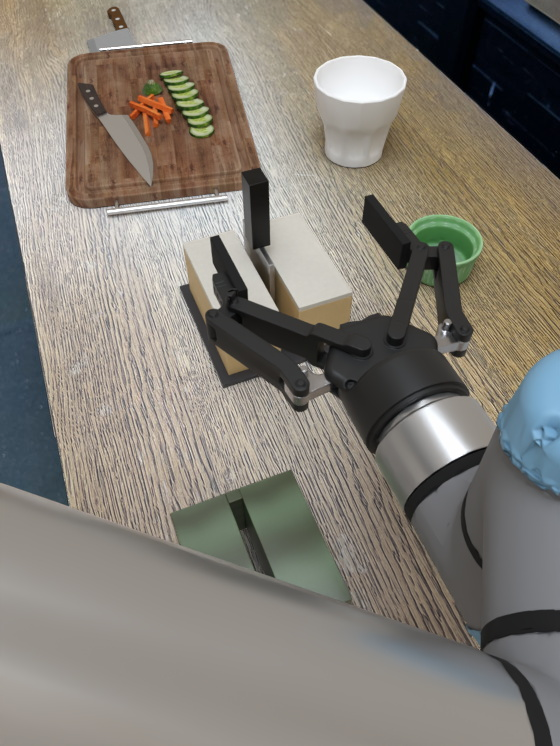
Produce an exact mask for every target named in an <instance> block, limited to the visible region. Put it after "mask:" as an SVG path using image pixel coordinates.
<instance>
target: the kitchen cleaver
mask: <svg viewBox="0 0 560 746" xmlns="http://www.w3.org/2000/svg"><path fill="white" fill-rule="evenodd" d="M106 13H107V17H108V18H110V19H111V22H112V24H113V27H114V30H113V31H110V32H108V33H105V34H102V35H99V36H96V37H93V38H89V39H87V40H86V44H87V48H88V50H89V53H93V52H100V50H99V48H102V47H113V46H123V45H134V44H138V42H137V41H136V40H135V39H134V37H133V35H132V33H131V32H130V30H129V26H128V25H127V22H126V21H125V19H124V18H125V17H124V16H123V14H122V12H121V9H120V8H119V7H118V6H111V7H109V8H108V9H107V10H106Z"/></svg>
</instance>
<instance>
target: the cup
mask: <svg viewBox="0 0 560 746" xmlns="http://www.w3.org/2000/svg"><path fill="white" fill-rule="evenodd" d="M312 80H313V89H314V98H315V106H316V109H317V112H318V115H319V117H320V119H321V121H322V124H323V132H324V139H325V141H324V153H325V156H326V158H327V159H328V160H330V161H331V162H332V163H334V164H335V165H338V166H341V167H343V168H344V167H345V168H352V169H356V168H365V167H369V166H371V165H373V164H375V163H377V162H378V161H380V159H381V158H382V155H383V151H384V146H385V143H386V140H387V138H388V135H389V131H390V129H391V126H392V123H394V120H395V119H396V118H397V116H398V114H399V110H400V107H401V104H402V101H403V97H404V94H405V90H406V87H407V83H408V82H407V81H408V78H407V76H406V74H405V73H404V71H403V69H402V68H400V67H399V66H397V64H395V63H394V62H392V61H389V60H386V59H384V58H380V57H377V56H370V55H369V56H368V55H359V54H355V55H354V54H353V55H345V56H339V57H336V58H333V59H329V60H327V61H325V62H324V63H322V64H321V65H320V66H318V67H317V68H316V70H315V72H314V74H313V77H312Z"/></svg>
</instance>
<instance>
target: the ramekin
mask: <svg viewBox="0 0 560 746" xmlns="http://www.w3.org/2000/svg"><path fill="white" fill-rule="evenodd" d="M408 227H409V228H410V229H411V230H412V232H413V233H414V234H415V235H416V237H417V238H418V239H419V240H420V241H421V242H424V243H427V244H428V245H429V246H438V244H439V243H440V242H442V241H448V242H451V243H452V244H453V246H454V252H455V259H456V267H457V274H458V282H459V284H462V283H463V282H465V281H466V280H467V279H468V278H469V277H470V275H471V273H472V271H473V268H474V266H475V263H476V261H477V259H478V258H479V257H480V255H481V253H482V252H483V248H484V238H483V236H482V234H481V232H480V231H479V230H478V228H476V226H475V225H473V224H472V223H471V222H469V221H467V220H465V219H463V218H461V217H458V216H455V215H450V214H440V213H439V214H429V215H425V216H421V217H419V218H418V219H416V220H414V221H413V222H412V223H411V224H410V225H409V226H408ZM407 267H408V262H407V265H406V268H407ZM421 284H424V285H427V286H431V287H434V278H433V270H424V273H423V277H422V280H421Z"/></svg>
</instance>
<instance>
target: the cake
mask: <svg viewBox="0 0 560 746" xmlns="http://www.w3.org/2000/svg"><path fill="white" fill-rule="evenodd" d="M216 235H219V236H220V238H221V240H222V242H223V244H224V245H225V247H226V249H227V251H228V253H229V255H230V257H231V259H232V261H233V262H234V264H235V266H236V268H237V270H238V272H239V274H240V276H241V277H242V279H243V281H244V283H245V285H246V287H247V289H248V300H249V301H252V302H255V303H257V304H260V305H263V306H265V307H268V308H271V309H273V310H276V311H278V312H281V313H284V314H286V315H289V316H292V317H294V318H297V319H300V320H302V321H305V322H307V323H310V324H313V325H315V324H317V323H323V324H326V325H328V326H331V327H334V328H336V329H339V327H340V324H343V323H346V322H350V321H351V312H352V304H353V303H352V302H353V294H354V291H353V290H352V288H351V286H350V285H349V284H348V282H347V281H346V279H345V278H344V277H343V275H342V273H341V272H340V270H339V269H338V267H337V266H336V264H335V263H334V261H333V260H332V258H331V256H330V255H329V254H328V252H327V251H326V249H325V248H324V246H323V245H322V244H321V242H320V240H319V239H318V238H317V236H316V235H315V233H314V232H313V230H312V229H311V227H310V225H309V224H308V223H307V221H306V219H305V218H304V217H303V215H302V214H301V212H300V211H298V212H293V213H290V214H287V215H283V216H278V217H275V218H270V245H269V246H266V247H264V248H265V249H266V251H267V253H268V254H269V256H270V258H271V260H272V261H273V263H274V277H275V303H274V301H273V299H272V298H271V296H270V294H269V292H268V290H267V289H266V287H265V285H264V283H263V281H262V280H261V278H260V276H259V274H258V272H257V271H256V269H255V267H254V265H253V263H252V262H251V260H250V258H249V256H248V254H247V253H246V251H245V249H244V244H242V242H241V240H240V239H239V237H238V234H237V233H236V231H235V230H234V229H231V230H230V229H229V230H226V231H223V232H219V233H215V234H211V235H207V236H204V237H199V238H196V239H193V240H189V241H184V242H182V249H183V256H184V262H185V267H186V274H187V280H188V283H186V284H183V285H179V290H180V292H181V294H182V297H183V299H184V302H185V304H186V307H187V309H188V311H189V313H190V316H191V317H192V318H191V319H193V322H194V324H195V326H196V329H197V332H198V333H199V336H200V338H201V340H202V343H203V345H204V348H205V350H206V352H207V354H208V356H209V358H210V361H211V363H212V365H213V368H214V371H215V372H216V375H217V377H218V379H219V381H220V384H221V386H222V388H223V389H224V388H228V387H230V386H231V387H232V386H233V385H237V384H240V383H243V382H247V381H250V380H252V379H255V378H259V377H260V376H258V375H257V374H256V373H254V372H253V371H251V370H250V369H249V368H247V367H246V366H244V365H243V364H241V363H240V362H239V361H237V360H236V359H234V358H233V357H232V356H230V355H229V354H227V353H226V352H224V351H223V350H222V349H220V348H219V347H217V346H216V345H215V344H213V343H212V342H210V341H209V339H208V334H207V327H206V319H205V313H206V312H207V311H208V310H209V309H219V308H220V307H221V306H220V304H219V302H218V300H217V298H216V296H215V294H214V291H213V282H212V276H213V274H216V273H217V271H216V269H215V267H214V265H213V262H212V253H211V244H210V237H212V236H216ZM272 346H273V345H272ZM274 347H275V346H274ZM329 347H330V345H327V344H325V343H324V350H325V352H327V353H328V351H329ZM275 348H277V349H278V350H279V351H281V352H282V353H284V354H285V355H287V356H288V357H290V358H291V359H292V360H293V361H294V362H295V363H296V364H297V365H299V364H302V363H305V362H308V361H307V360H306V359H305V358H303V357H301V356H298V355H295V354H293V353H290V352H288V351H285V350H283V349H280V348H278V347H275Z"/></svg>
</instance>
